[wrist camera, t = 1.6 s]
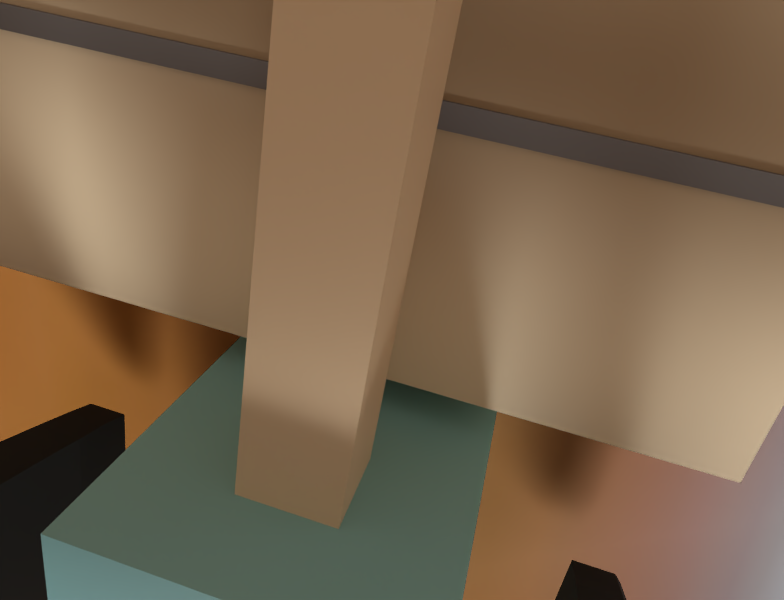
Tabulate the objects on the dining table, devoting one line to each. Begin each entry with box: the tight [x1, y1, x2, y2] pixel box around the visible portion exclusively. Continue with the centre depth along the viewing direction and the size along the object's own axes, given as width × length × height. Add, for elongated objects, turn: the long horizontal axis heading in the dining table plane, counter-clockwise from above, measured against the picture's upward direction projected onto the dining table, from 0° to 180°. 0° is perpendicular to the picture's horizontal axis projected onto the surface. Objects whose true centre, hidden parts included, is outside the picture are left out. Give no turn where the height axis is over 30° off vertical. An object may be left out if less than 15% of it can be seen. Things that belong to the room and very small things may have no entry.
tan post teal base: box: [41, 0, 497, 600], centre depth 7 cm, size 12×4×5 cm, turn 170°
